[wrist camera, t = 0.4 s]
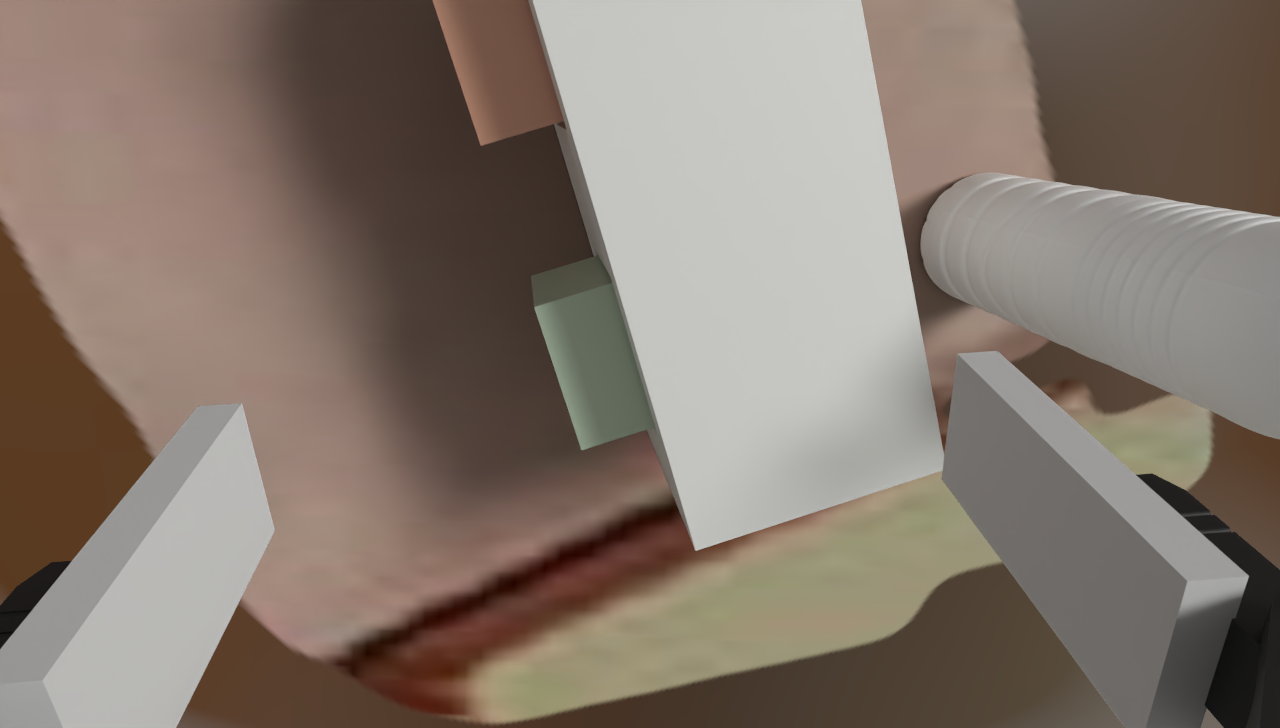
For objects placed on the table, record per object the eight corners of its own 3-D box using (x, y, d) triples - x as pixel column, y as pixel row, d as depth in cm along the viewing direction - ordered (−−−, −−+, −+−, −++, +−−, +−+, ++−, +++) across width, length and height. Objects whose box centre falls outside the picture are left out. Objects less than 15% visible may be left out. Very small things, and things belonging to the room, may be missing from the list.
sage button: (530, 275, 38) (534, 307, 32) (684, 228, 38) (714, 251, 32) (571, 400, 40) (581, 450, 34) (717, 354, 40) (751, 396, 34)
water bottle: (999, 144, 43) (1592, 199, 20) (1059, 246, 45) (1661, 409, 22) (858, 254, 44) (1266, 436, 20) (922, 350, 46) (1361, 618, 22)
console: (479, -122, 37) (463, -234, 24) (705, -186, 37) (801, -327, 25) (645, 426, 45) (695, 550, 33) (828, 368, 45) (946, 469, 33)
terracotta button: (435, -15, 34) (420, -37, 28) (607, -64, 34) (625, -96, 29) (485, 138, 36) (480, 145, 30) (647, 90, 36) (673, 88, 31)
